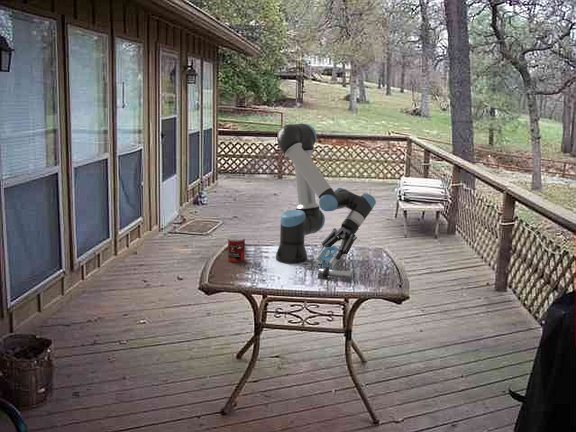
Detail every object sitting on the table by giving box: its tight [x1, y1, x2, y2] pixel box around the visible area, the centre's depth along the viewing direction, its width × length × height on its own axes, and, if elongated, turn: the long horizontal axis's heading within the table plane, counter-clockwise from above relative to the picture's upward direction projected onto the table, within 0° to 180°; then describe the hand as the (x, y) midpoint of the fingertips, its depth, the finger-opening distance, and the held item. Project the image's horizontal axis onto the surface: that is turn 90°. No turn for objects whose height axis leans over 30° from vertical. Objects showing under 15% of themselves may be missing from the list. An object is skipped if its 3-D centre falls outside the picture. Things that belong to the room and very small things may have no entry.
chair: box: [321, 246, 342, 270], centre depth 280 cm, size 8×8×12 cm
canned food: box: [227, 235, 246, 263], centre depth 294 cm, size 8×8×11 cm
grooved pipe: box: [317, 266, 353, 283], centre depth 272 cm, size 14×5×5 cm, turn 74°
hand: (324, 261), depth 278 cm, fingers open, 8 cm apart
